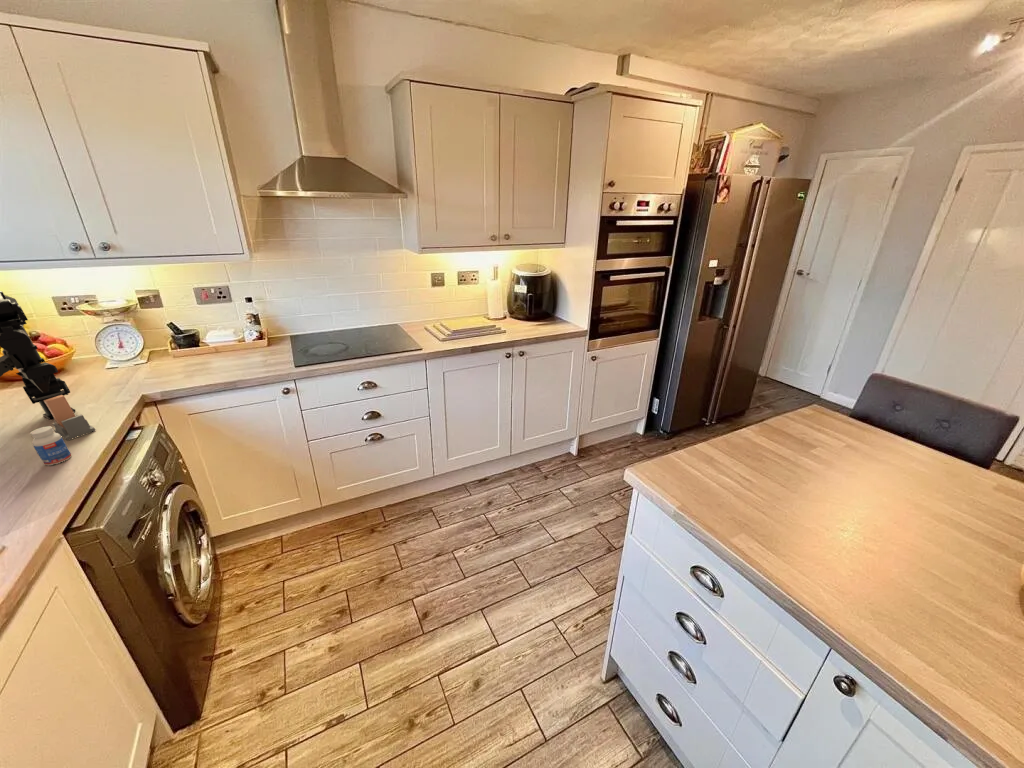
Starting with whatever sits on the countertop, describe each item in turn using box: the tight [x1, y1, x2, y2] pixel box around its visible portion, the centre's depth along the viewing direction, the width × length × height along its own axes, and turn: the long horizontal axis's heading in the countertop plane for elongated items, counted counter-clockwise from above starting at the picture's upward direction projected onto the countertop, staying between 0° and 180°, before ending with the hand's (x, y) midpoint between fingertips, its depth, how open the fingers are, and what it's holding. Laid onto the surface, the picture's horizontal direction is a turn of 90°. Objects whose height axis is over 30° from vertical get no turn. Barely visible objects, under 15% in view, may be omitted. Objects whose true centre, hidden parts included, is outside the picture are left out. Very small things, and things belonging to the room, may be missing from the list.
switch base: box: [51, 414, 96, 441], centre depth 125 cm, size 10×6×6 cm, turn 62°
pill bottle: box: [30, 425, 72, 466], centre depth 111 cm, size 6×5×10 cm
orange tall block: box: [44, 395, 76, 430], centre depth 125 cm, size 2×4×10 cm, turn 152°
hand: (45, 392), depth 125 cm, fingers closed
